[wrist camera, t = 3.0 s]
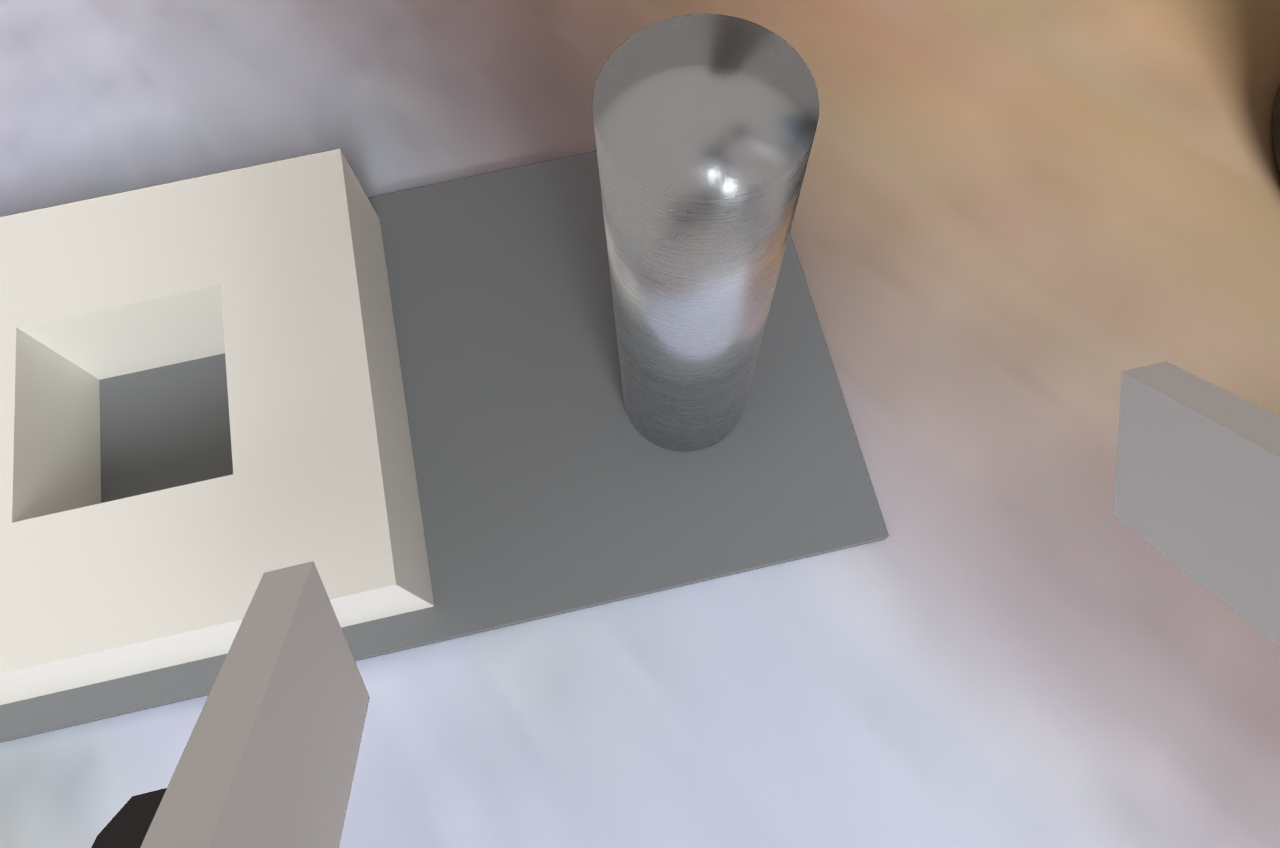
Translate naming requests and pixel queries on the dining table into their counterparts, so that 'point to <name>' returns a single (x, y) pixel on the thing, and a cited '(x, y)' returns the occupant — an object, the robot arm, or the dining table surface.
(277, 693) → the robot arm
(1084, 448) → the dining table surface
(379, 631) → the mat
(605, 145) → the pin
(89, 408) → the hole block
